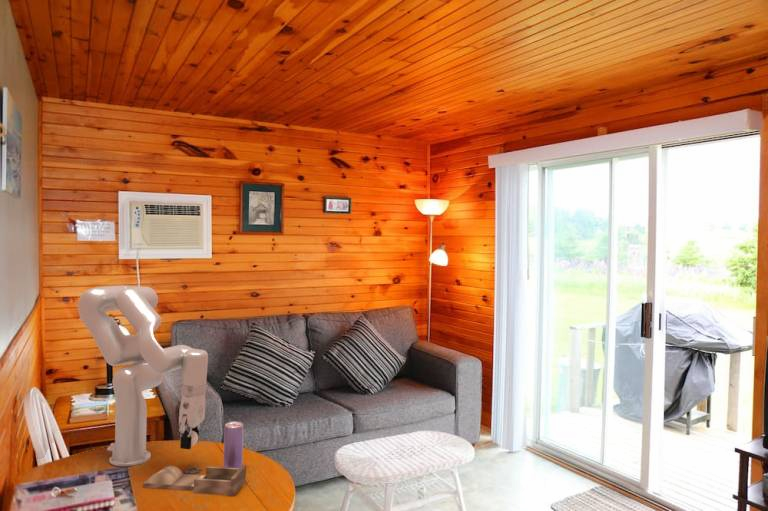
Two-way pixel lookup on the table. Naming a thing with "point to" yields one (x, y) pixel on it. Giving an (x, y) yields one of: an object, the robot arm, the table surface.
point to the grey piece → (192, 469)
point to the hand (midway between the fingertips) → (189, 444)
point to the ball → (194, 438)
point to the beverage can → (233, 445)
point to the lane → (199, 480)
